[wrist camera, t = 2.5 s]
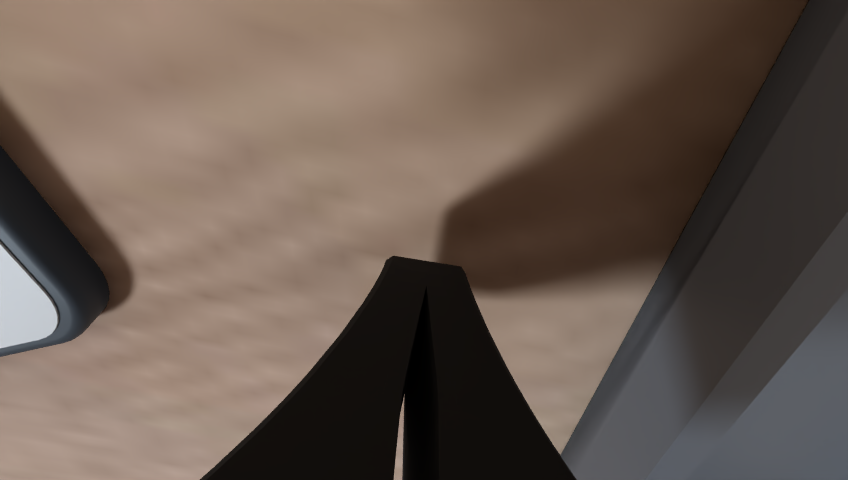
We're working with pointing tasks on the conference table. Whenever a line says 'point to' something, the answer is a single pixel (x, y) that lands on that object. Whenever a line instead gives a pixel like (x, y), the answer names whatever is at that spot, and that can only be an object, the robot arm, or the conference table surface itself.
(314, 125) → the conference table surface
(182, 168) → the conference table surface
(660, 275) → the shell tray
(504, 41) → the conference table surface
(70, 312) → the smartphone
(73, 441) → the conference table surface
